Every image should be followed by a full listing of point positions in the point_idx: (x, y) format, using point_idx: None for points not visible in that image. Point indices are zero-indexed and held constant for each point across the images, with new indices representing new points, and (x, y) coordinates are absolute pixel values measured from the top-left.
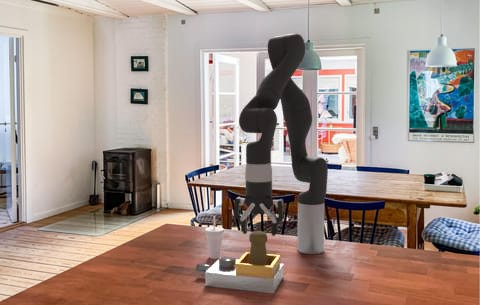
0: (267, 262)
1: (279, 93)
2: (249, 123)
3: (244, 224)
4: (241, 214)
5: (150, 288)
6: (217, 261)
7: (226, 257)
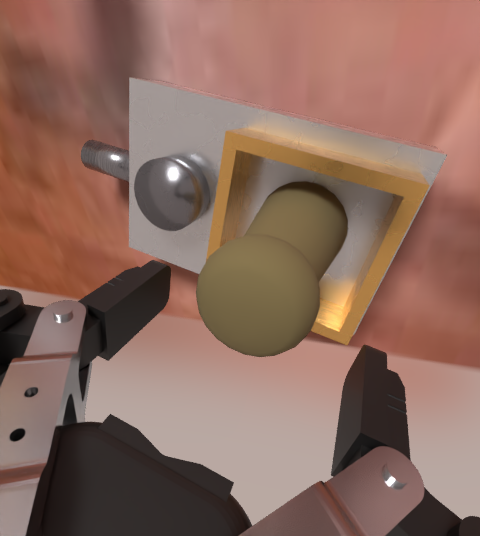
0: (337, 251)
1: None
2: None
3: (119, 344)
4: (18, 335)
5: (52, 240)
6: (132, 133)
7: (155, 168)
